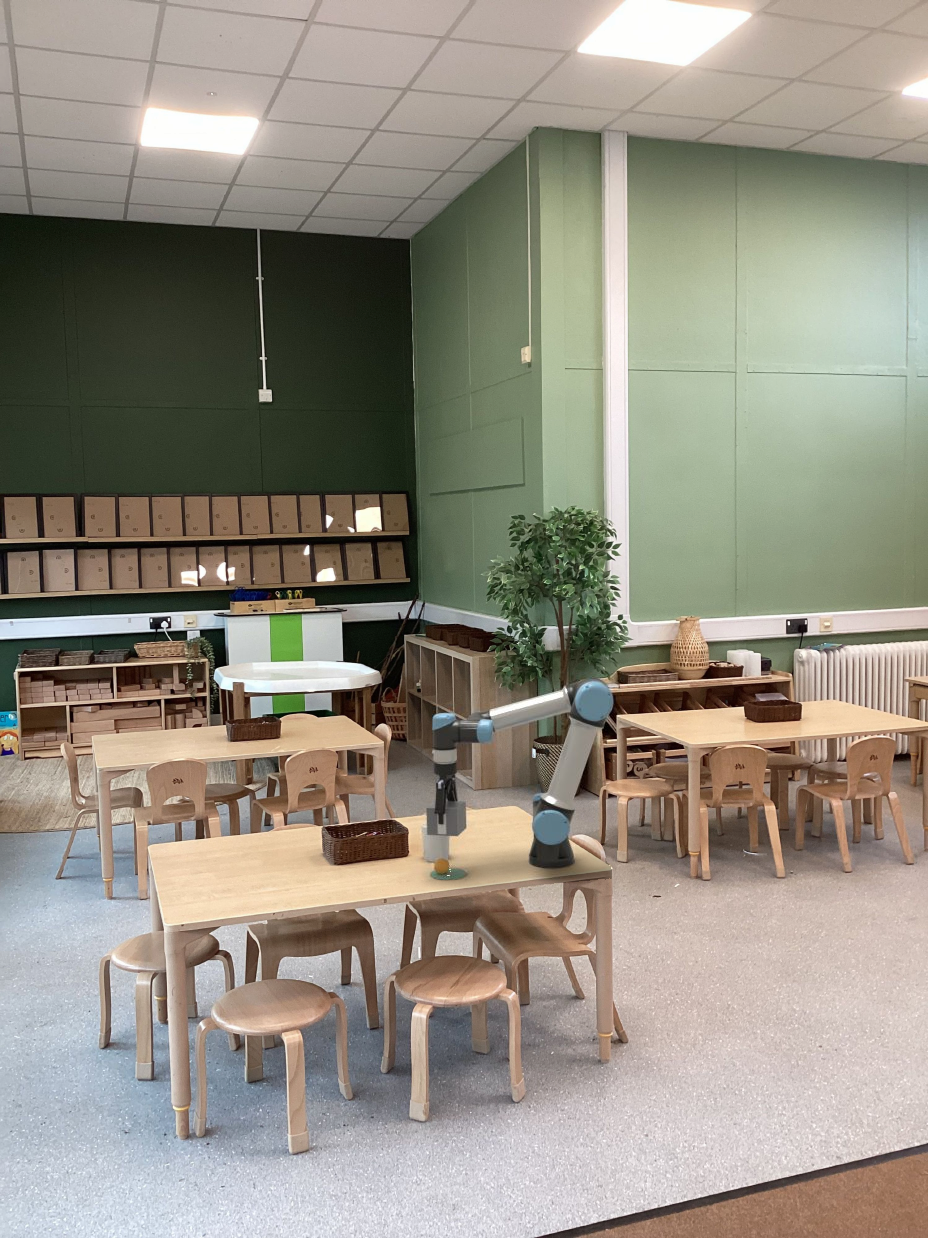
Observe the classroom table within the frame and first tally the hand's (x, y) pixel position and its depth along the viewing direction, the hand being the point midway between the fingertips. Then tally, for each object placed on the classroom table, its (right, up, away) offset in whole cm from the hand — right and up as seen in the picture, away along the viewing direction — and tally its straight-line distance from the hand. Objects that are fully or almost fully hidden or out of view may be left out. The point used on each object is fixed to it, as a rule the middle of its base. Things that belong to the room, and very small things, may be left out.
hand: (447, 829), depth 349 cm
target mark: (0, -15, +1) cm, 15 cm away
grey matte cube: (0, -1, 0) cm, 1 cm away
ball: (-2, -12, +1) cm, 12 cm away
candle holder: (-4, -14, +19) cm, 24 cm away
